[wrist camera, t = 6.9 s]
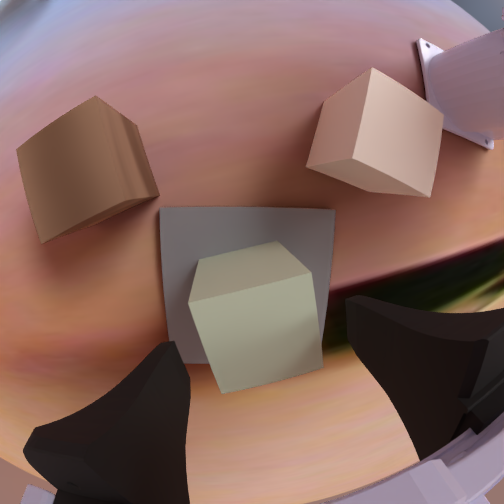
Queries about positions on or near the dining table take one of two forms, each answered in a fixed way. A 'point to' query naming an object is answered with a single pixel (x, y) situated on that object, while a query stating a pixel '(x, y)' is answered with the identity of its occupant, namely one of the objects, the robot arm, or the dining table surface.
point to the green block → (256, 316)
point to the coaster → (231, 239)
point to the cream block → (378, 137)
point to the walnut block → (84, 170)
